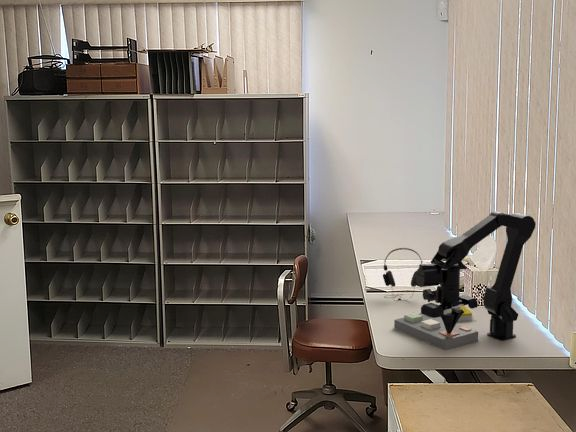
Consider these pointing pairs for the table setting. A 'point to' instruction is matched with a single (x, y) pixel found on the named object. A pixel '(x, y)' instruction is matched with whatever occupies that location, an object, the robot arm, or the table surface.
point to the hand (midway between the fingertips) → (448, 332)
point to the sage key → (413, 317)
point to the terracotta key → (448, 333)
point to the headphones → (389, 277)
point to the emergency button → (466, 315)
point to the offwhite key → (430, 324)
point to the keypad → (437, 333)
